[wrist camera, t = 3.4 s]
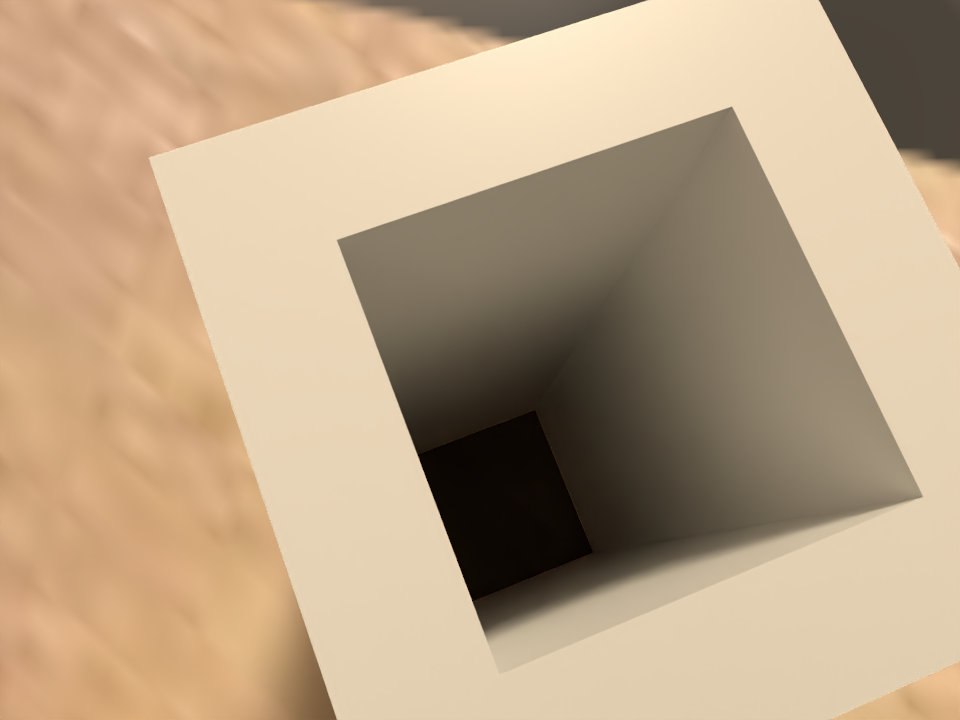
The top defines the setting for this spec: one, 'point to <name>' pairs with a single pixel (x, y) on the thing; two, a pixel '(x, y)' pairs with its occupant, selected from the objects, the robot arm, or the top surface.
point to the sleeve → (599, 368)
